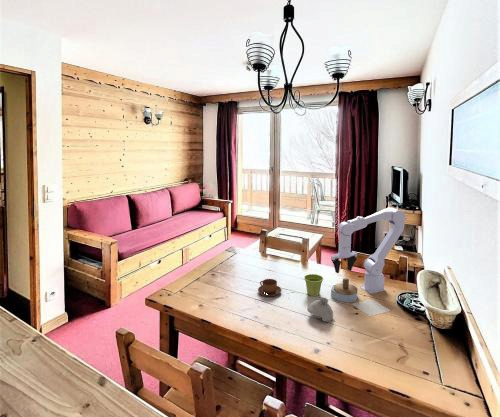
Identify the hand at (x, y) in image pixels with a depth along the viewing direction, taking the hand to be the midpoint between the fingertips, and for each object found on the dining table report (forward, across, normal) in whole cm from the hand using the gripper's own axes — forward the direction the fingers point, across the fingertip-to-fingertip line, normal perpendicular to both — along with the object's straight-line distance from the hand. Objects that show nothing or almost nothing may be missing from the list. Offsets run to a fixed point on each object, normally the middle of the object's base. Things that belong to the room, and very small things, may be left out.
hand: (343, 271), depth 163 cm
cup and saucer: (+11, +35, -13) cm, 39 cm away
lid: (+6, +4, +7) cm, 10 cm away
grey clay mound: (+11, +25, +17) cm, 32 cm away
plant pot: (+11, +16, -3) cm, 19 cm away
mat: (+10, 0, +20) cm, 23 cm away
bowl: (+10, +4, +6) cm, 13 cm away
